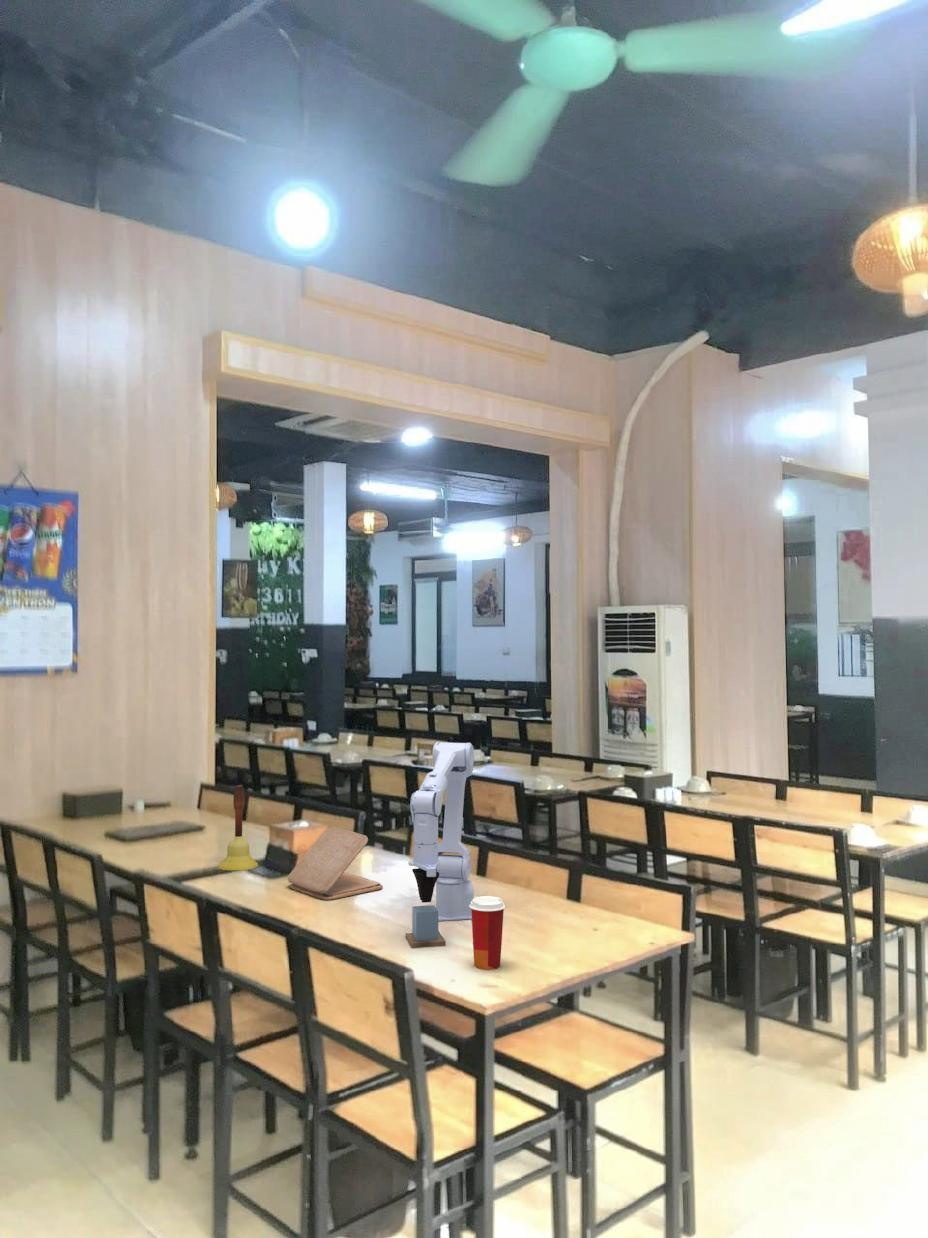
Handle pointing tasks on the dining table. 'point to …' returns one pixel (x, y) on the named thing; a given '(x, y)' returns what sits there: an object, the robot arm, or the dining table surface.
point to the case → (332, 867)
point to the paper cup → (487, 931)
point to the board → (430, 943)
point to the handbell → (238, 839)
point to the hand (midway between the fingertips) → (425, 901)
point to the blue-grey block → (425, 923)
